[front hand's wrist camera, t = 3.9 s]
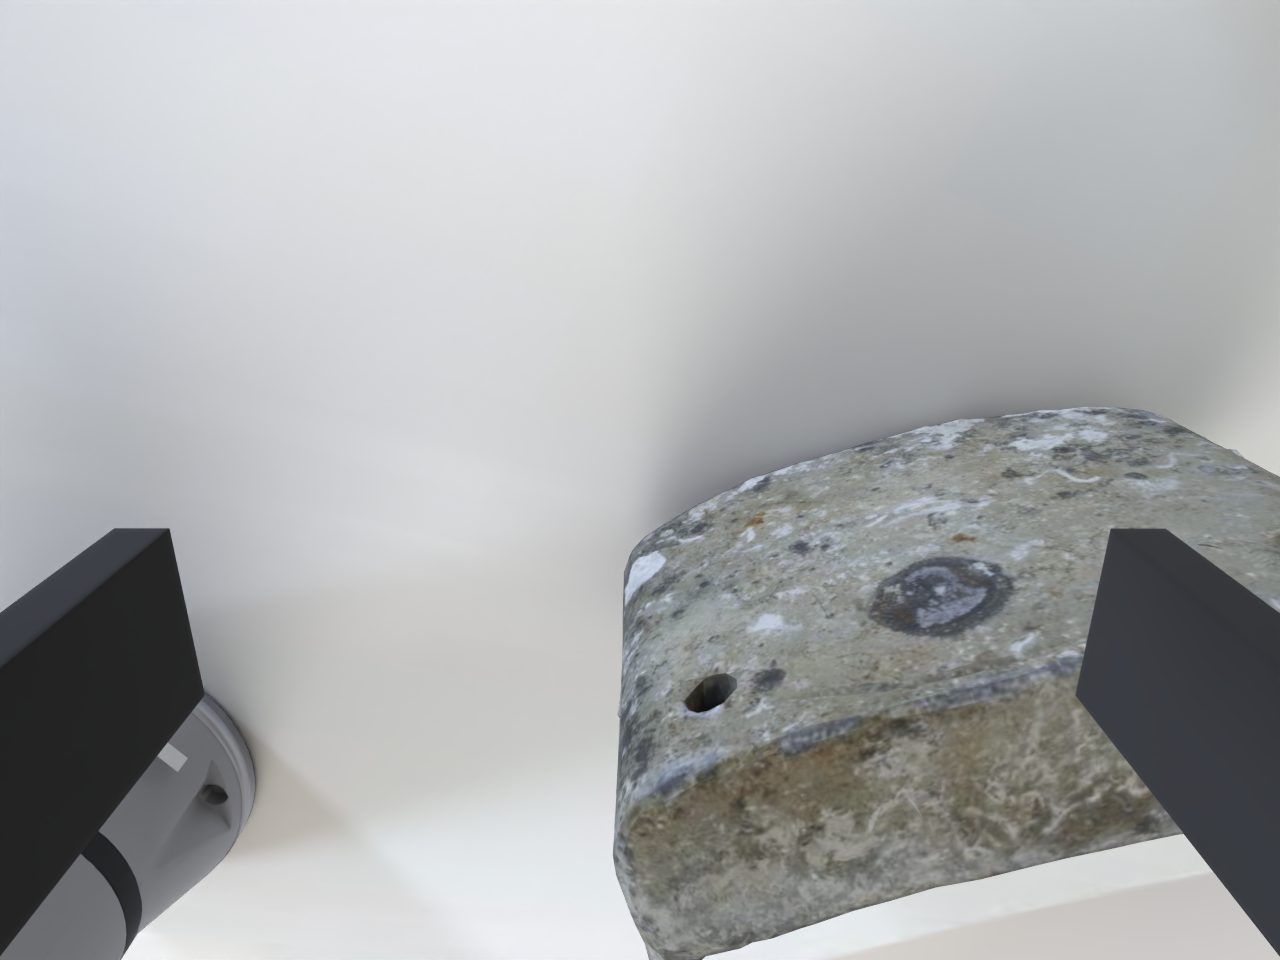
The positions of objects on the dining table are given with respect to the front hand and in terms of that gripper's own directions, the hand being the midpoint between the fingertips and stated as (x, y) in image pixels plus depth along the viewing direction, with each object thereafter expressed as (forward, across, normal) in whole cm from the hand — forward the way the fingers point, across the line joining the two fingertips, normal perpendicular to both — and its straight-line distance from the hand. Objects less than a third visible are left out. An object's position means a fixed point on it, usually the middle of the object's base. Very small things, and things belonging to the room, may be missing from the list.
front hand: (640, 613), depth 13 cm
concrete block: (+29, -12, +11) cm, 33 cm away
